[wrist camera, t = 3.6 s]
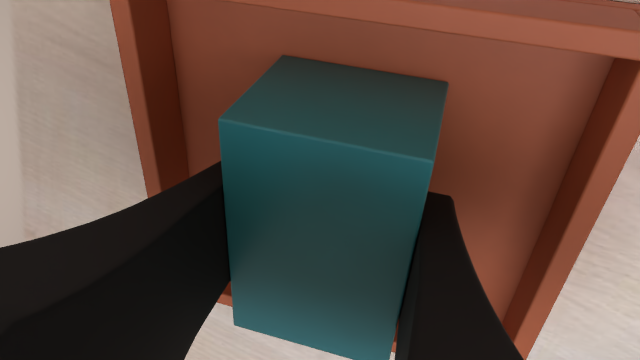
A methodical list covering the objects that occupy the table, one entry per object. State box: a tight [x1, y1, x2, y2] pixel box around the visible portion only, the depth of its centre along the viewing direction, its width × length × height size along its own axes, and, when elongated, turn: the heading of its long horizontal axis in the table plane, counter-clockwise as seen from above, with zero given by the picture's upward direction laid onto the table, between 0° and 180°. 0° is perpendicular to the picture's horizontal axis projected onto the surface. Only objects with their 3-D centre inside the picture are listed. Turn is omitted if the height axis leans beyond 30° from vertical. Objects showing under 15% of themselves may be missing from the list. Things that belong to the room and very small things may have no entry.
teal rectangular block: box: [218, 55, 449, 360], centre depth 12 cm, size 4×6×4 cm, turn 177°
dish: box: [110, 0, 640, 360], centre depth 13 cm, size 11×10×2 cm
